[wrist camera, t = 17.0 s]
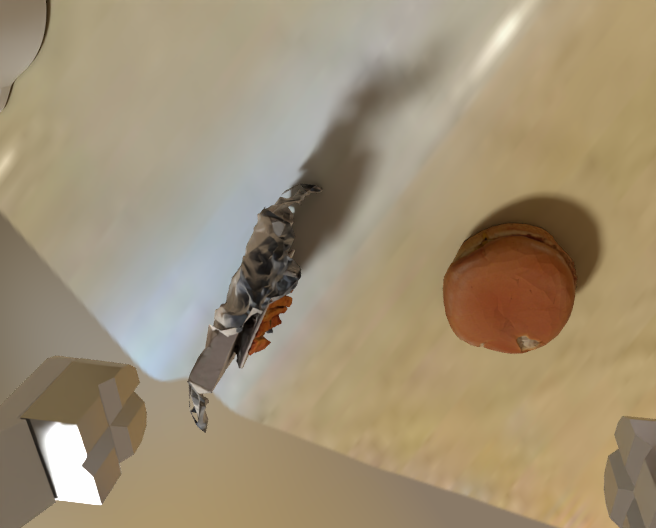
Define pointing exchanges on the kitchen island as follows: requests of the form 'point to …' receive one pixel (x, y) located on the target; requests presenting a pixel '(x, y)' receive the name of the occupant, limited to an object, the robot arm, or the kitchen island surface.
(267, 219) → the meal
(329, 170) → the kitchen island surface
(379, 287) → the kitchen island surface
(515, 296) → the burger
